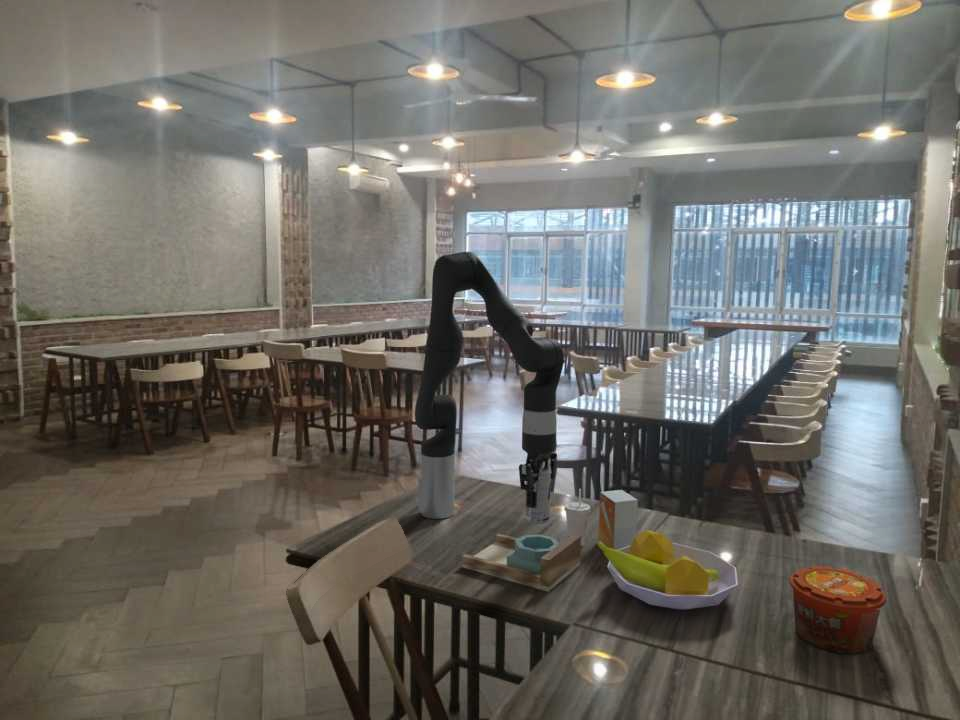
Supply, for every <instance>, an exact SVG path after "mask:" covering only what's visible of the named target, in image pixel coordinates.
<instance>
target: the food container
mask: <svg viewBox="0 0 960 720" xmlns="http://www.w3.org/2000/svg"><path fill="white" fill-rule="evenodd" d="M788 583H789V585H790V586H791V588H792V597H793V611H794V612H793V613H794V627H795V632H796V634H797V636H799V637H800V638H801V639H802V640H803V641H805V642H806V643H808V644H809V645H812V646H814V647H817V648H818V649H821V650H825V651H828V652H831V653H832V652H833V653H837V654H844V655H852V654H853V655H854V654H861V653H864V652H867V651H868V650H870V649H871V648H872V646H873V642H874V638H875V634H876V629H877V626H878V625H877V624H878V623H879V617H880V612H881V610H882V609H883V608H884V606H885V604H886V602H887V596H886V593H885V591H884V590H883V589H882V588H881V587H880V585H879V584H878V583H877V582H876V581H874V580H873V579H871V578H865V577H863V575H862V574H860V573H858V572H855V571H852V570H848V569H843V568H838V569H834V568H832V567H831V566H825V565H812V566H809V568H804V567H802V568H799V569H797V570H796V571H795V572H793V573H792V574H791V575H790V577H789V581H788Z"/></svg>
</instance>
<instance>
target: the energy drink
mask: <svg viewBox="0 0 960 720" xmlns="http://www.w3.org/2000/svg"><path fill="white" fill-rule="evenodd" d="M536 476H537V474H534V473H532V477H536ZM550 477H551V472H550V468H549V469H544V470H543V471H541V480H540V482H538V486H537V506H536V507H535V508H530V507H527V506H526V505H525V520H526V522H528V523H530V524H533V525H545V524H547V523H548V522H549V521H550V518H551V517H550V515H551V513H550V512H551V508H550V507H551V506H550V505H551V483H550ZM532 481H533V484H534V480H532Z"/></svg>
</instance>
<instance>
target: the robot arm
mask: <svg viewBox="0 0 960 720" xmlns="http://www.w3.org/2000/svg"><path fill="white" fill-rule="evenodd" d="M431 281H432V283H431V284H432V285H431V308H430V317H429V325H428V332H427V337H426V343H425V345H426V346H425V351H424V359H423V360H424V361H423V368H422V376H421V380H420V384H419V389H418V392H417V393H418V394H417V397H416V402H415V408H414V420H415V421H414V422H415V424H416V426H417V427H418V428H419V429H420V430H424V431H425V430H426V431H428V430H430V431H431V430H439V431H438V432H437V433H436V434H435V435H433V436H432V437H430V438H428V439H426V440H424V441H422V443H421V444H420V478H419V479H418V481H417V499H418V500H417V506H418V508H417V510H418V511H417V513H418V514H421V516H423V517H424V518H427V519H433V520H436V519H437V520H439V519H447V518H451V517H452V516H454V515H455V507H456V506H455V500H456V499H455V495H456V494H455V492H456V491H455V487H456V486H455V481H456V480H455V478H456V477H455V474H456V473H455V472H456V471H455V468H456V465H455V464H456V463H455V461H456V460H455V456H456V455H455V452H456V450H455V449H456V437H457V416H458V415H457V414H458V411H457V409H458V408H457V402H456V399H455V398H454V396H453V395H451V394H436V392H437V390H438V389H439V387H440V386H441V384H442V383H443V382H445V381H446V380H447V378H448V377H449V376H450V375H451V374H452V373H453V372H454V371H455V369H456V367H457V366H458V365H459V363H460V360H461V357H462V356H461V355H462V351H463V345H464V334H463V331H462V329H461V326H460V324H459V322H458V320H457V318H456V317H455V314H454V301H455V300H454V299H455V296H456V294H457V293H460V292H465V291H469V290H473V291H475V292H476V293H477V294H478V295H479V296H480V297H481V298H482V299H483V301H484V307H485V313H486V314H485V315H486V318H487V320H488V322H489V325H491V327H492V329H493V330H494V331H495V332H496V333H497V334H498V335H499V336H500V337H501V338H502V339H503V341H505V342H506V343H507V346H508V348H509V350H510V351H511V352H510V353H511V354H512V356H513V358H514V359H515V362H516V363H517V365H519V367H520V368H521V369H523V370H525V371H527V372H529V373H535V377H534V378H533V379H532V380H531V381H529V382H528V383H526V384H525V386H524V390H523V413H522V418H521V419H522V420H521V421H522V426H521V431H522V432H521V448H522V450H523V451H524V452H526V454H527V455H526V460H525V463H524V464H523V463H520V464H519V465H518V474H519V483H520V485H519V487H520V490H522V491H525V507H526V506H527V507H530V508H535V507H536V506H537V486H538V482H540V480H541V471H543V470H544V469H549V468H550V472H551V477H550V484H551V483H552V480H554V479H555V477H556V469H557V460H558V454H557V452H555V451H556V450H557V421H558V420H557V411H556V408H557V389H558V386H559V382H560V379H561V376H562V372H563V367H564V362H565V355H564V350H563V346H562V344H561V343H560V342H559V341H558V340H557V339H555V338H550V337H549V338H548V337H547V338H538V339H535V338H533V334H534V331H535V330H534V326H533V324H532V323H531V321H530V320H529V319H528V318H527V317H526V316H525V315H524V314H523V313H522V312H521V311H520V310H519V309H518V308H517V306H515V305H514V304H513V303H512V301H510V299H509V298H508V297H507V295H506V294H505V293H504V291H503V290H502V289H501V287H500V286H499V284H498V282H497V281H496V280H495V278H494V276H493V275H492V274H491V272H490V271H489V269H488V268H487V267H486V265H485V264H484V262H483V261H482V260H481V259H480V258H479V256H478V255H476V254H475V253H473V252H471V251H462V252H461V251H460V252H455V253H450V254H443V255H442V256H439V257H438V258H437V259H436V261H435V263H434V265H433V271H432V280H431ZM532 473H534V474H537V476H536V477H532ZM532 480H534V484H533V481H532Z"/></svg>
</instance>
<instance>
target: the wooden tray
mask: <svg viewBox="0 0 960 720" xmlns="http://www.w3.org/2000/svg"><path fill="white" fill-rule="evenodd" d="M517 539H519V538H518V537H514V536H509V535H505V534H501V533H497V534H495V542H493V543H492V544H490V545H489V546H487V547H486V548H483V549H482V550H481V551H479V552H477V553H476V554H474V555H470V554H467V553H464V554H462V556H461V567H462V568H464V569H467V570H471V571H475V572H478V573H481V574H485V575H487V576H492V577H494V578H495V577H496V578H499V579H503V580H505V581H509V582H512V583H517V584H520V585H523V586H527V587H530V588H535V589H537V590H540V591H544V592H547V593H549V592H550V591H551V590H552V589H554V588H555V587H556V586H557V585H558V584H560V583H561V582H562V581H563V580H565V578H567V577H568V576H569V575H570V574H571V573H572V572H573V571H575V570H576V569H578V567H580V566H581V552H582V551H581V548H582V546H581V536H579V535H575V534H572V535H571V536H570V537H568V536H567V538H565V539H564V540H563V541H561V542H560V543H559V545H558V546H556V547H555V548H554V549H552V550H551V551H550V552H548V553H547V554H546V555H544V556H543V557H542V558H541V566H540V574H536V573H533V572H529V571H525V570H522V569H518V568H514V567H511V566H507V556H508V555H509V554H510V553H512V552H513V551H515V541H516V540H517Z"/></svg>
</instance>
